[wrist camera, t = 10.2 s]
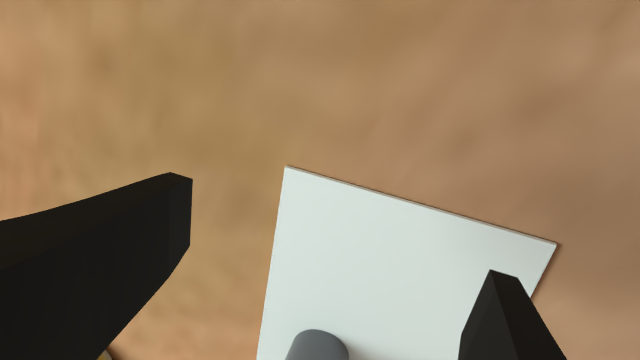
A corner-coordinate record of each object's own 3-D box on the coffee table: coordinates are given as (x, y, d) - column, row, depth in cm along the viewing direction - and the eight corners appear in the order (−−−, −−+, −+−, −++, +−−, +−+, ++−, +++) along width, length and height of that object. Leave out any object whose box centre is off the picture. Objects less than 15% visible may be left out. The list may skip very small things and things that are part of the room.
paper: (555, 242, 20) (556, 245, 20) (455, 441, 27) (455, 444, 27) (286, 165, 22) (285, 166, 22) (255, 369, 29) (254, 371, 29)
